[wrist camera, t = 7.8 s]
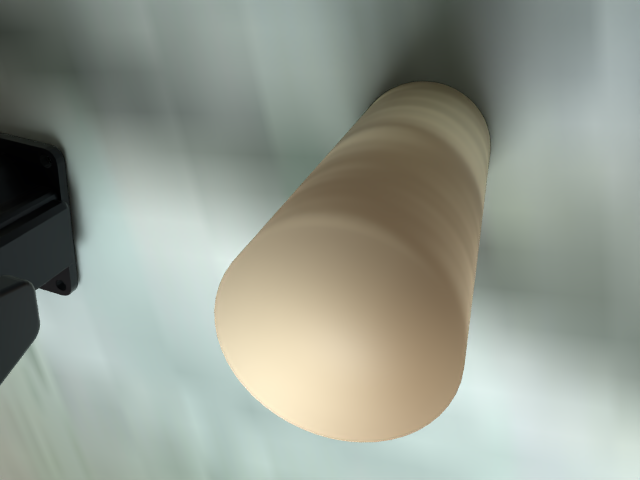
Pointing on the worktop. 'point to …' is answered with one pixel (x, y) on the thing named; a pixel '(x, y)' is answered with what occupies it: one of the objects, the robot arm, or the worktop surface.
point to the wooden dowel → (366, 274)
